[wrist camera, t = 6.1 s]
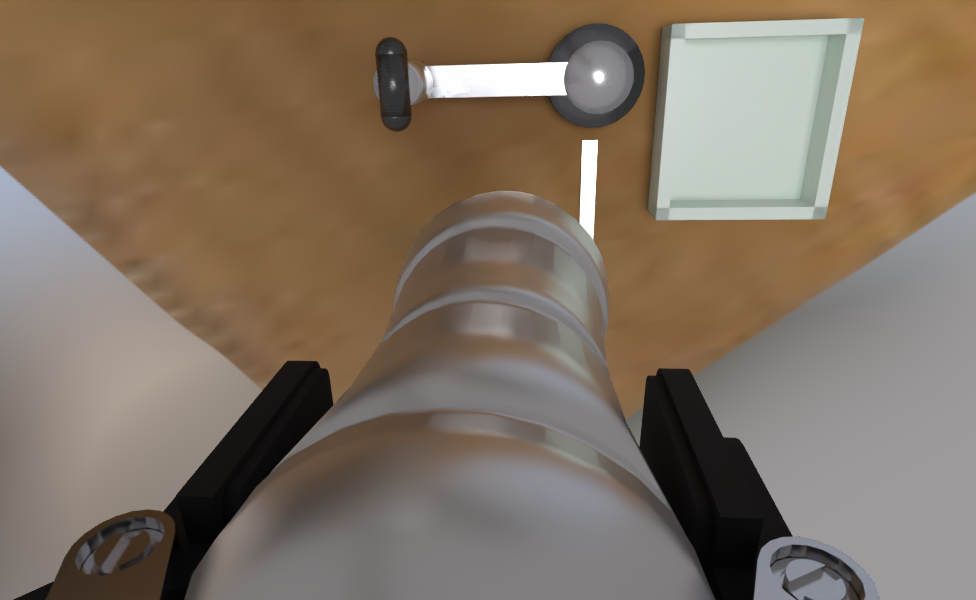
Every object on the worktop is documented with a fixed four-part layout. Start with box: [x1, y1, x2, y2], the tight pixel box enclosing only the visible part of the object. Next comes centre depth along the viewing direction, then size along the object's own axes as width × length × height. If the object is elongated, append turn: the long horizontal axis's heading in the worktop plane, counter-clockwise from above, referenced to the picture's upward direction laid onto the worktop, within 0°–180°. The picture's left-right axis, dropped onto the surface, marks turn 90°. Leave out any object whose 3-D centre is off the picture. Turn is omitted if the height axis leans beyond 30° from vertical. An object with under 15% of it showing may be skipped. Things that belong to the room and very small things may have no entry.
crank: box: [373, 37, 634, 131], centre depth 33 cm, size 14×5×8 cm, turn 91°
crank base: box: [548, 24, 645, 239], centre depth 39 cm, size 16×6×2 cm, turn 1°
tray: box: [648, 18, 864, 220], centre depth 37 cm, size 12×11×3 cm
